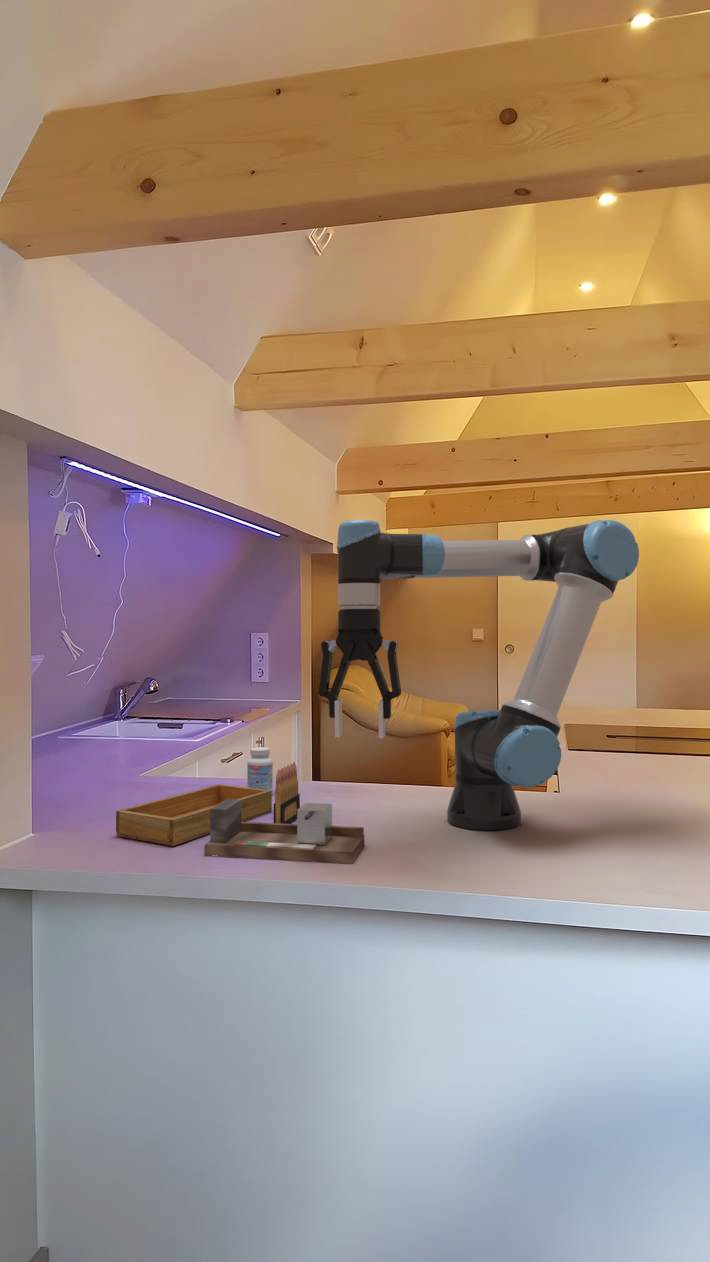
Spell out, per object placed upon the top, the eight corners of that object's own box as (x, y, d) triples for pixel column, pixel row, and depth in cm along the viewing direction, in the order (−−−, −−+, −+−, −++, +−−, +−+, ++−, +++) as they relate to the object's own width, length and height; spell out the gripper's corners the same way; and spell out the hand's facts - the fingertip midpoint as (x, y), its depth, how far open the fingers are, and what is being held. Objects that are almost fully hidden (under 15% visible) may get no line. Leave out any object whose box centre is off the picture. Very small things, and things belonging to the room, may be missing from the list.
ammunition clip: (281, 830, 156) (281, 770, 156) (273, 829, 156) (272, 769, 156) (300, 817, 166) (299, 761, 166) (292, 816, 167) (291, 760, 166)
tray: (218, 806, 178) (218, 781, 178) (272, 814, 170) (271, 788, 170) (115, 839, 151) (115, 810, 151) (173, 850, 144) (173, 820, 144)
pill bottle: (244, 797, 185) (243, 750, 185) (251, 792, 191) (251, 746, 191) (268, 798, 184) (268, 750, 184) (275, 792, 190) (275, 746, 190)
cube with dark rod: (332, 836, 142) (331, 803, 142) (320, 849, 134) (320, 815, 134) (305, 835, 144) (305, 802, 143) (292, 848, 135) (292, 814, 135)
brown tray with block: (364, 845, 144) (364, 802, 144) (352, 863, 133) (351, 817, 133) (227, 838, 150) (226, 797, 149) (204, 855, 139) (204, 810, 139)
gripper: (418, 607, 140) (419, 734, 140) (310, 609, 144) (311, 732, 144) (412, 607, 132) (413, 741, 133) (298, 608, 136) (300, 738, 137)
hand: (360, 736), depth 138 cm, fingers open, 7 cm apart
